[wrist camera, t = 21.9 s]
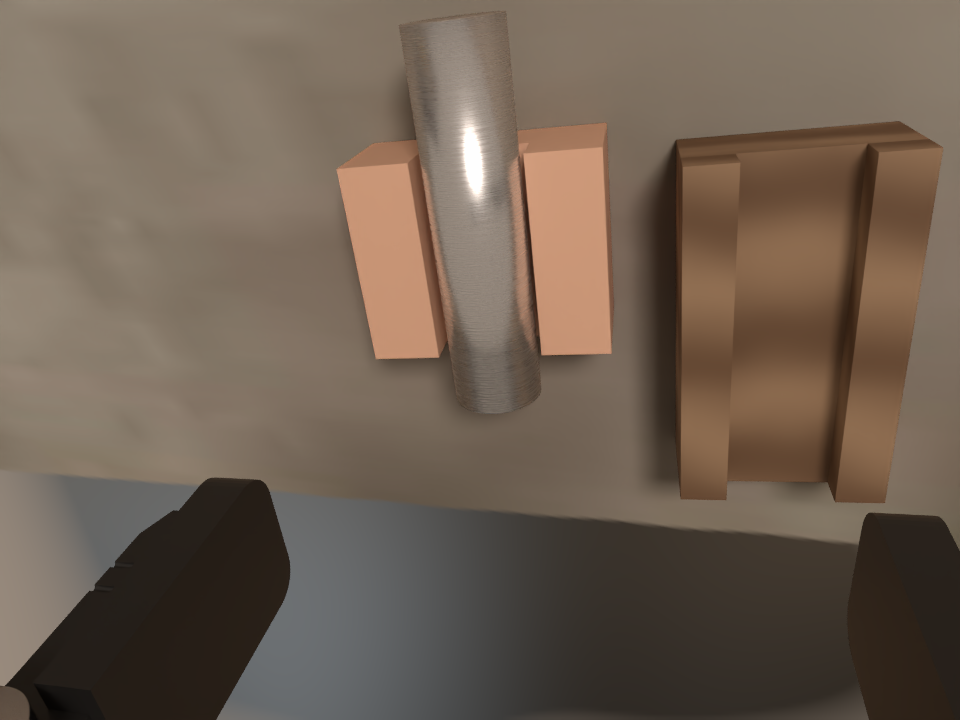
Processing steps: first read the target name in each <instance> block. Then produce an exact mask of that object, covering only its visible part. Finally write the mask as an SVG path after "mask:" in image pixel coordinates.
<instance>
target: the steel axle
mask: <svg viewBox="0 0 960 720" xmlns="http://www.w3.org/2000/svg"><path fill="white" fill-rule="evenodd" d="M399 30H400V36H401V42H402V49H403V55H404V62H405V68H406V75H407V81H408V87H409V94H410V100H411V107H412V113H413V120H414V126H415V133H416V139H417V145H418V152H419V158H420V165H421V171H422V178H423V184H424V190H425V197H426V203H427V210H428V216H429V223H430V229H431V235H432V242H433V248H434V255H435V261H436V268H437V274H438V280H439V287H440V293H441V300H442V306H443V313H444V319H445V326H446V332H447V338H448V345H449V351H450V358H451V364H452V371H453V377H454V383H455V390H456V396H457V400H458V402H459V404H460V405H461V406H463V407H464V408H466V409H468V410H470V411H473V412H477V413H484V414H499V413H506V412H511V411H515V410H518V409H521V408H523V407H525V406H527V405H529V404H531V403H532V402H533V401H535V400H536V399H537V398H538V396H539V395H540V393H541V378H540V367H539V357H538V346H537V336H536V325H535V314H534V304H533V293H532V282H531V272H530V261H529V250H528V240H527V229H526V219H525V208H524V197H523V187H522V176H521V165H520V155H519V144H518V133H517V123H516V112H515V102H514V91H513V80H512V70H511V59H510V48H509V38H508V27H507V17H506V11H491V12H481V13H472V14H464V15H456V16H449V17H442V18H435V19H428V20H422V21H416V22H410V23H405V24H401V25H399Z"/></svg>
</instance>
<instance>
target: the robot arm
mask: <svg viewBox="0 0 960 720" xmlns="http://www.w3.org/2000/svg"><path fill="white" fill-rule="evenodd" d="M289 580H290V561H289V556H288V553H287V549H286V546H285V543H284V539H283V536H282V532H281V529H280V526H279V522H278V519H277V515H276V512H275V509H274V505H273V502H272V499H271V495H270V492H269V489H268V487H267V486H266V484H265V483H264V482H262V481H261V480H252V479H233V478H209V479H207V480H206V481H204V482H203V483H202V484H201V485H200V486H199V487H198V489H197V490H196V491H195V492H194V493H193V495H192V496H191V497H190V498H189V499H188V501H187V502H186V503H185V504H184V505H183V506H182V508H181V509H180V510H179V511H172V512H170V513H169V514H167V515H166V516H165V517H163V518H162V519H160V520H159V521H157V522H156V523H155V524H153V525H152V526H150V527H149V528H147V529H146V530H145V531H143V532H141V533H140V534H139V535H138V536H137V537H136V539H135V540H134V541H133V542H132V543H131V544H130V545H129V546H128V548H127V549H126V550H125V551H124V552H123V553H122V554H121V555H120V557H119V558H118V559H117V560H116V561H115V566H114V568H113V567H110V568H109V569H108V570H107V571H106V573H105V574H104V575H103V576H102V577H101V578H100V579H99V580H98V582H97V583H96V584H95V589H94V591H89V592H88V593H87V594H86V595H85V596H84V598H83V599H82V600H81V601H80V602H79V603H78V604H77V605H76V607H75V608H74V609H73V610H72V611H71V612H70V614H68V616H67V617H66V618H65V619H64V620H63V621H62V623H61V624H60V625H59V626H58V627H57V628H56V629H55V630H54V632H53V633H52V634H51V635H50V636H49V637H48V638H47V639H46V641H45V642H44V643H43V644H42V645H41V646H40V647H39V649H38V650H37V651H36V652H35V653H34V654H33V655H32V656H31V658H30V659H29V660H28V661H27V662H26V663H25V665H24V666H23V667H22V668H21V669H20V670H19V671H18V672H17V673H16V675H15V676H14V677H13V678H12V679H11V680H10V681H9V682H8V683H7V684H6V685H5V686H0V720H216V719H217V717H218V715H219V714H220V712H221V710H222V708H223V707H224V705H225V703H226V701H227V700H228V698H229V696H230V694H231V693H232V691H233V689H234V687H235V686H236V684H237V682H238V680H239V678H240V677H241V675H242V673H243V672H244V670H245V668H246V666H247V664H248V663H249V661H250V659H251V657H252V656H253V654H254V652H255V650H256V649H257V647H258V645H259V643H260V642H261V640H262V638H263V636H264V635H265V633H266V631H267V629H268V628H269V626H270V624H271V622H272V621H273V619H274V617H275V615H276V614H277V612H278V610H279V608H280V607H281V605H282V603H283V601H284V599H285V596H286V593H287V590H288V585H289ZM847 627H848V639H849V646H850V651H851V656H852V660H853V663H854V667H855V671H856V674H857V678H858V682H859V685H860V689H861V692H862V696H863V699H864V703H865V707H866V710H867V714H868V717H869V720H960V551H959V549H958V547H957V545H956V543H955V541H954V539H953V537H952V535H951V533H950V531H949V529H948V527H947V525H946V524H945V522H944V521H943V520H942V519H941V518H940V517H938V516H925V515H906V514H886V513H868V514H867V515H866V517H865V519H864V522H863V526H862V531H861V536H860V541H859V547H858V552H857V558H856V563H855V569H854V574H853V579H852V585H851V590H850V596H849V602H848V611H847Z"/></svg>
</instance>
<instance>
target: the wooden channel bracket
mask: <svg viewBox="0 0 960 720" xmlns="http://www.w3.org/2000/svg"><path fill="white" fill-rule="evenodd" d="M942 153H943V147H941V146H940V145H938V144H936V143H935V142H933V141H931V140H930V139H928V138H926V137H925V136H923V135H921V134H920V133H918V132H916V131H915V130H913V129H911V128H910V127H908V126H906V125H905V124H903V123H901V122H900V121H897V122H885V123H873V124H861V125H849V126H837V127H825V128H813V129H800V130H788V131H776V132H764V133H752V134H740V135H728V136H716V137H703V138H691V139H679V140H676V452H677V463H678V474H679V486H680V497H681V499H697V500H726V495H727V481H772V482H828V485H829V487H830V490H831V493H832V495H833V498H834V501H835V502H856V503H885V498H886V492H887V486H888V480H889V474H890V468H891V462H892V456H893V450H894V444H895V438H896V432H897V426H898V420H899V414H900V407H901V401H902V395H903V389H904V383H905V377H906V371H907V365H908V359H909V353H910V347H911V341H912V335H913V329H914V323H915V316H916V310H917V304H918V298H919V292H920V286H921V280H922V274H923V268H924V262H925V256H926V250H927V244H928V238H929V232H930V225H931V219H932V213H933V207H934V201H935V195H936V189H937V183H938V177H939V171H940V165H941V159H942Z"/></svg>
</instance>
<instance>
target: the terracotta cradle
mask: <svg viewBox="0 0 960 720" xmlns="http://www.w3.org/2000/svg"><path fill="white" fill-rule="evenodd" d="M517 133H518V144H519V155H520V165H521V176H522V187H523V197H524V208H525V219H526V229H527V240H528V250H529V261H530V272H531V282H532V293H533V304H534V314H535V325H536V336H540V342H541V353H542V355H573V354H611V352H612V334H613V315H614V297H613V271H612V246H611V221H610V195H609V170H608V144H607V123H597V124H585V125H574V126H563V127H552V128H541V129H529V130H518V131H517ZM337 173H338V178H339V183H340V187H341V192H342V197H343V202H344V207H345V212H346V216H347V221H348V226H349V231H350V236H351V241H352V245H353V250H354V255H355V260H356V265H357V270H358V274H359V279H360V284H361V289H362V294H363V299H364V303H365V308H366V313H367V318H368V323H369V327H370V332H371V337H372V342H373V347H374V352H375V356H376V359H396V358H439V357H440V355H441V353H442V350H443V348H444V346H445V344H446V342H447V340H448V338H447V332H446V326H445V319H444V313H443V306H442V300H441V293H440V287H439V280H438V274H437V268H436V261H435V255H434V248H433V242H432V235H431V229H430V223H429V216H428V210H427V203H426V197H425V190H424V184H423V178H422V171H421V165H420V158H419V152H418V145H417V140H406V141H395V142H383V143H373V144H372V145H370V146H369V147H367V148H366V149H364V150H363V151H362V152H360V153H359V154H357V155H356V156H354V157H353V158H352V159H350V160H349V161H347V162H346V163H344V164H343V165H342V166H340V167H339V168H337Z"/></svg>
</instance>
